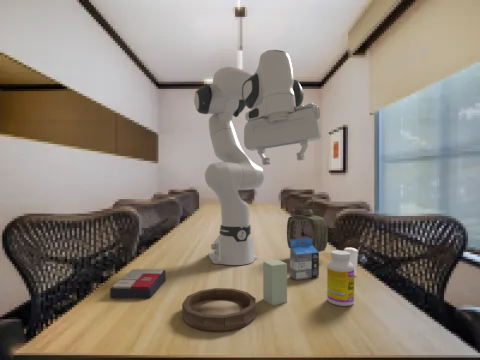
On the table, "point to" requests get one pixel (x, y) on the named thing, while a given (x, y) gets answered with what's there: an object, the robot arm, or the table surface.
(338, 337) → the table surface
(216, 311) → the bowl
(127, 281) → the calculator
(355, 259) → the milkshake
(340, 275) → the supplement bottle
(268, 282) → the block
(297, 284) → the table surface
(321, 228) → the tabletop clock
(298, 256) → the label tape cartridge
